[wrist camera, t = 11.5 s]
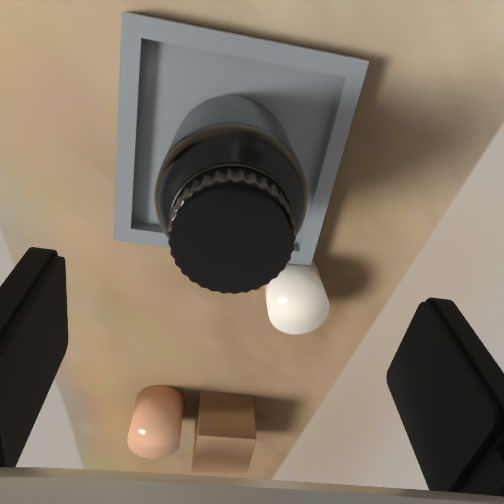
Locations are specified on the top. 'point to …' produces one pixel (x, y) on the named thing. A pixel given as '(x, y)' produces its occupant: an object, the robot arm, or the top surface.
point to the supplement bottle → (231, 195)
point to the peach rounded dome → (156, 422)
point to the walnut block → (224, 433)
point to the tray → (218, 84)
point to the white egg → (297, 299)
